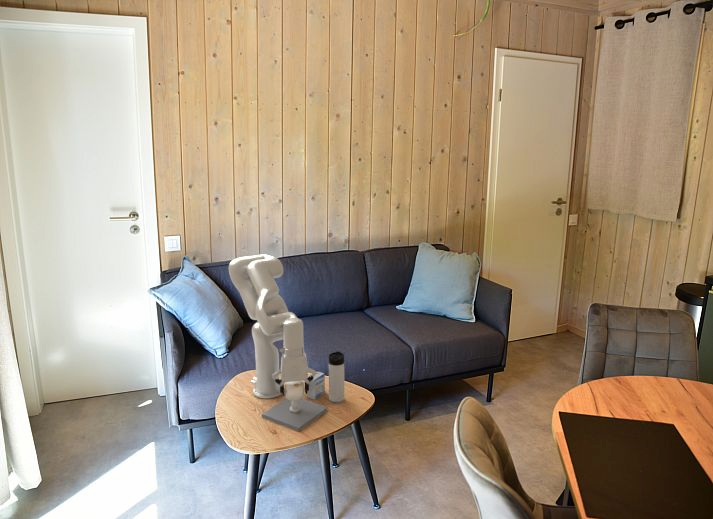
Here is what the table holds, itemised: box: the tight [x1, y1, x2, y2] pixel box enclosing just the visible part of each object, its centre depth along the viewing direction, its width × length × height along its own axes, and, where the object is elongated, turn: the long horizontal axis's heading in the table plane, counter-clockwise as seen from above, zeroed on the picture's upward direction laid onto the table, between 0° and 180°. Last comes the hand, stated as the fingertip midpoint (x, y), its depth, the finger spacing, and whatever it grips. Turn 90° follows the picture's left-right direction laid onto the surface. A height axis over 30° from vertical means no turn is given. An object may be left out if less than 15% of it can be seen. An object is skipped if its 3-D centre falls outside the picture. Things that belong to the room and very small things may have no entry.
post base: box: [261, 398, 329, 432], centre depth 210 cm, size 18×18×7 cm
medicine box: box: [305, 370, 326, 400], centre depth 225 cm, size 8×4×9 cm, turn 150°
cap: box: [284, 381, 305, 401], centre depth 208 cm, size 7×7×6 cm
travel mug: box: [328, 350, 345, 405], centre depth 219 cm, size 6×7×20 cm
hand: (294, 393), depth 208 cm, fingers open, 8 cm apart
